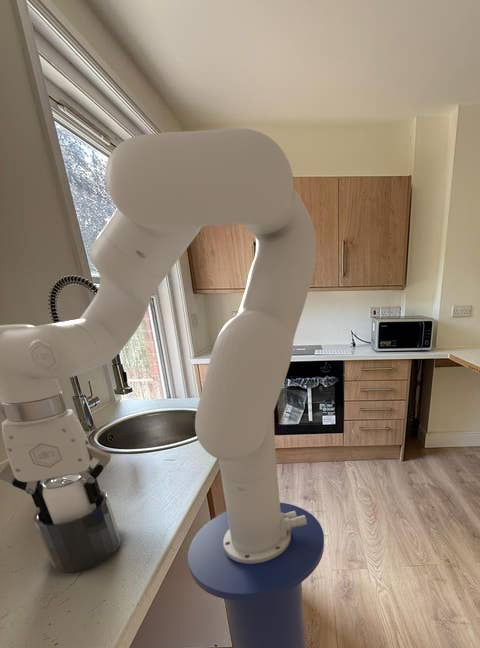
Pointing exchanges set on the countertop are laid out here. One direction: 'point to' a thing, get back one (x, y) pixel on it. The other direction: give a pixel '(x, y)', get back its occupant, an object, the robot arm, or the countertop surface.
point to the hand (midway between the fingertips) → (71, 503)
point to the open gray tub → (80, 538)
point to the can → (66, 498)
